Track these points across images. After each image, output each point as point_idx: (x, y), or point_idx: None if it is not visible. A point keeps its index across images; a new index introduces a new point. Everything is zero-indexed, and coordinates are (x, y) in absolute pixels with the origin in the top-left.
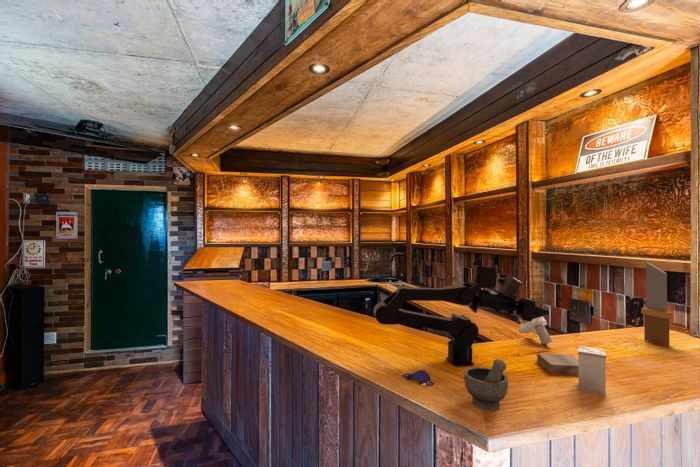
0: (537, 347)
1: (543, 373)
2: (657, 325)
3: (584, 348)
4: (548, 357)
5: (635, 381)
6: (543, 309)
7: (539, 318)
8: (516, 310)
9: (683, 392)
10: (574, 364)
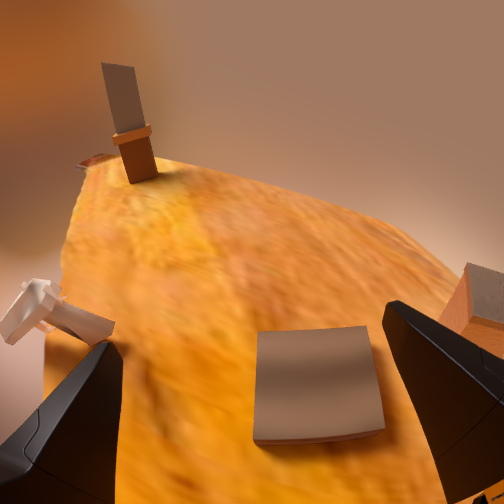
0: None
1: (382, 456)
2: (142, 151)
3: (492, 306)
4: (303, 416)
5: (360, 265)
6: (450, 333)
7: (36, 291)
8: (114, 496)
9: (383, 228)
10: (359, 356)
